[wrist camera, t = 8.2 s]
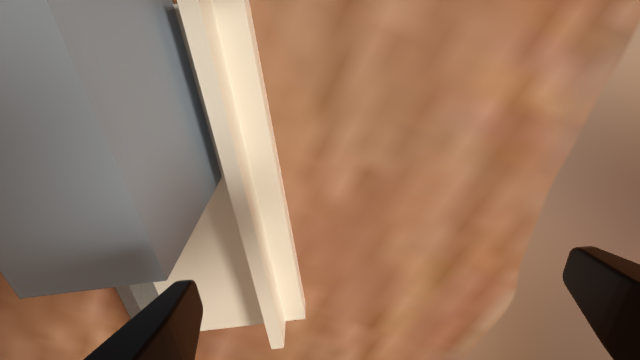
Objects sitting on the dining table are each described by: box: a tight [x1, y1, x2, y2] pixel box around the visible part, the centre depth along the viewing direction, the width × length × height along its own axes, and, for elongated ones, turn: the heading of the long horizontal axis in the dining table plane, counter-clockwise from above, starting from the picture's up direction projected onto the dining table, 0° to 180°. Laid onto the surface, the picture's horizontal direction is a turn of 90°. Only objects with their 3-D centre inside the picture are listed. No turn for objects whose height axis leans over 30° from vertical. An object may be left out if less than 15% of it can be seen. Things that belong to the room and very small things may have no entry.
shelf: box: [115, 0, 305, 349], centre depth 19 cm, size 20×10×4 cm, turn 7°
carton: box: [0, 0, 222, 299], centre depth 13 cm, size 5×9×8 cm, turn 7°
